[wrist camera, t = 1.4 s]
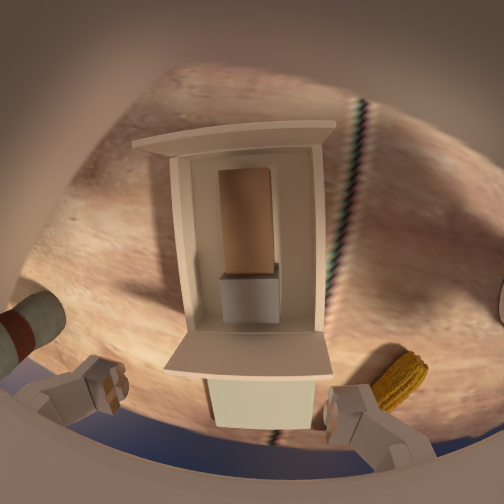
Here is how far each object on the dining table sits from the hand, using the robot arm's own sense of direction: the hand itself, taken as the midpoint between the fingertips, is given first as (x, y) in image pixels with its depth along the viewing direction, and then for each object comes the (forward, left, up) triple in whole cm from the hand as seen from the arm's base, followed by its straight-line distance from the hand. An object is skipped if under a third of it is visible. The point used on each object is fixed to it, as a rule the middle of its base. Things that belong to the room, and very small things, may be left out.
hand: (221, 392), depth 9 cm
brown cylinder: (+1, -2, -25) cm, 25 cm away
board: (+1, +22, -25) cm, 33 cm away
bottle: (+40, +11, -25) cm, 49 cm away
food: (-17, +24, -26) cm, 39 cm away
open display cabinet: (+1, -1, -25) cm, 25 cm away
